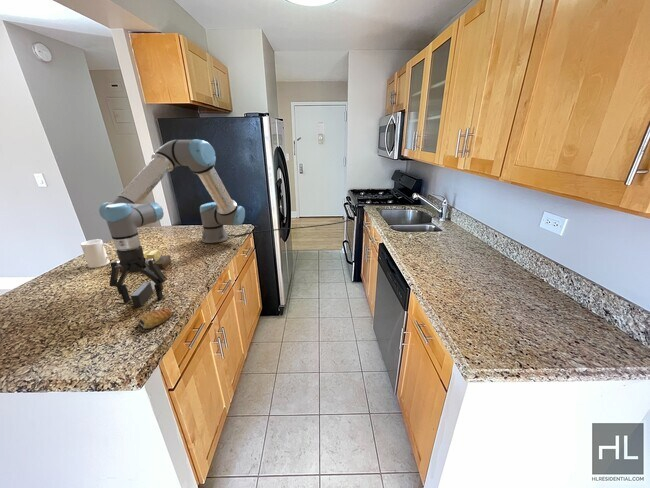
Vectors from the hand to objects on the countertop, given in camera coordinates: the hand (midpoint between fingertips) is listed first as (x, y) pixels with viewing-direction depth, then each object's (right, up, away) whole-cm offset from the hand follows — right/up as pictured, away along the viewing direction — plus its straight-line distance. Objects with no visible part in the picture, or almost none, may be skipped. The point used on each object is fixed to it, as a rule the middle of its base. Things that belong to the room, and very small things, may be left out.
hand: (144, 299), depth 101 cm
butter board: (-18, +11, +28) cm, 35 cm away
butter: (-22, +13, +26) cm, 37 cm away
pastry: (+12, -5, -12) cm, 18 cm away
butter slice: (-14, +14, +27) cm, 33 cm away
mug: (-42, +11, +30) cm, 52 cm away
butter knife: (-1, +2, +6) cm, 7 cm away
